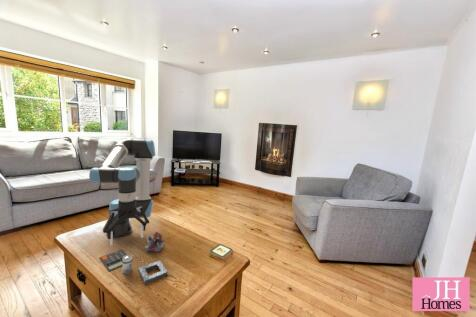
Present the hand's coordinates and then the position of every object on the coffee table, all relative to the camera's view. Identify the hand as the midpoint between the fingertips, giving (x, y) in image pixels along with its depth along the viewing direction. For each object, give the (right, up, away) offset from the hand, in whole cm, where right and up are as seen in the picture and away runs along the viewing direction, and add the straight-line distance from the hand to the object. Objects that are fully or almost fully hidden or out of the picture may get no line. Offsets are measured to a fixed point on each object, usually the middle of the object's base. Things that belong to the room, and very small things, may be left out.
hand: (127, 240), depth 102 cm
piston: (-1, -17, +3) cm, 17 cm away
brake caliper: (+4, -14, +24) cm, 28 cm away
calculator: (-12, -15, +11) cm, 22 cm away
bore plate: (+12, -18, +3) cm, 21 cm away
